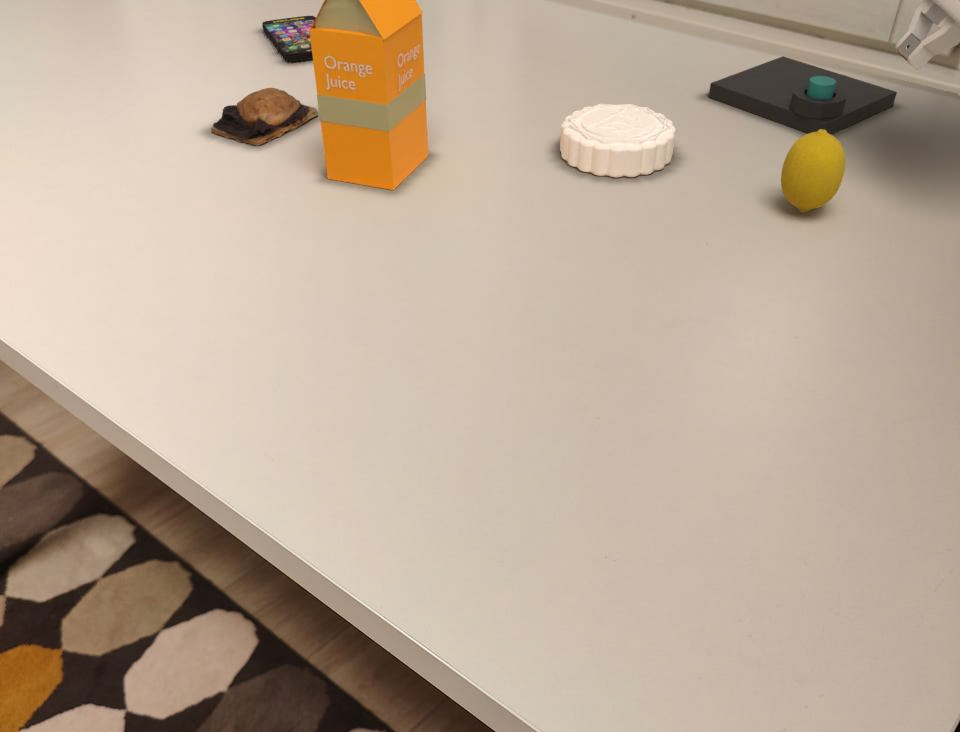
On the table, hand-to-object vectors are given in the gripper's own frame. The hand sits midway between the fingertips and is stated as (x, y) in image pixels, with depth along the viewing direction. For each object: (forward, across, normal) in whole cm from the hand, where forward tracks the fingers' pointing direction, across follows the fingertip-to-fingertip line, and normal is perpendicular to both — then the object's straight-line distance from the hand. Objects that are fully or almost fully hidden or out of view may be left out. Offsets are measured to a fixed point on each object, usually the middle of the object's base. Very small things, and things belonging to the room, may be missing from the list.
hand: (905, 59), depth 87 cm
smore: (+46, +27, +41) cm, 67 cm away
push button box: (+11, +20, -10) cm, 25 cm away
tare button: (+9, +14, -7) cm, 18 cm away
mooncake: (+24, +10, +12) cm, 29 cm away
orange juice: (+38, +12, +33) cm, 52 cm away
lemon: (+15, -6, +1) cm, 16 cm away
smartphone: (+46, +54, +35) cm, 78 cm away
